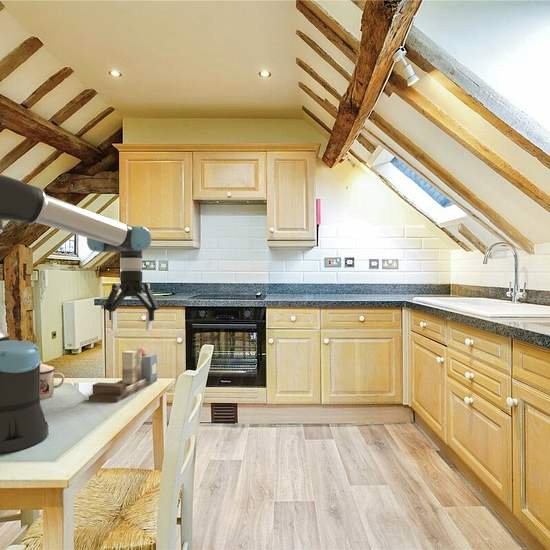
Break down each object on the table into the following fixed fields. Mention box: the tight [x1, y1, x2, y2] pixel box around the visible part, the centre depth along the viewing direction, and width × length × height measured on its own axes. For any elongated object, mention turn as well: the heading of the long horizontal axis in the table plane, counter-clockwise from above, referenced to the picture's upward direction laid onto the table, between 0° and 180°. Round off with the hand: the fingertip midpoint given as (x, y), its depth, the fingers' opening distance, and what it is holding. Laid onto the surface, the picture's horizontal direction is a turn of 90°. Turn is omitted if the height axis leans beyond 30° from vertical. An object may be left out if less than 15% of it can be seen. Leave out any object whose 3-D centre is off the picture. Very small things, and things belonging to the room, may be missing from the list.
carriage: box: [121, 348, 142, 384], centre depth 143 cm, size 6×4×11 cm, turn 169°
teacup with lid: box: [40, 360, 65, 401], centre depth 133 cm, size 12×9×12 cm
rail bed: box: [88, 378, 158, 403], centre depth 139 cm, size 26×10×4 cm, turn 169°
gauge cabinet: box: [142, 353, 158, 385], centre depth 150 cm, size 5×10×10 cm, turn 79°
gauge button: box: [136, 347, 146, 356], centre depth 150 cm, size 3×3×4 cm
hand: (131, 329), depth 143 cm, fingers open, 13 cm apart
